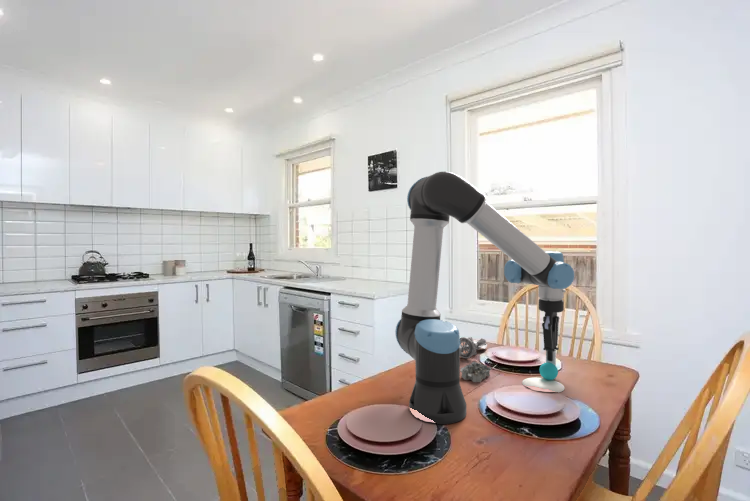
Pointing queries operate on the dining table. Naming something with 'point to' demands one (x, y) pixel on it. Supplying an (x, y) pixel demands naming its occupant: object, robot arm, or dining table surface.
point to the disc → (544, 384)
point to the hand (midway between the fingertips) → (550, 369)
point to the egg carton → (479, 374)
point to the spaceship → (471, 346)
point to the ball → (548, 371)
